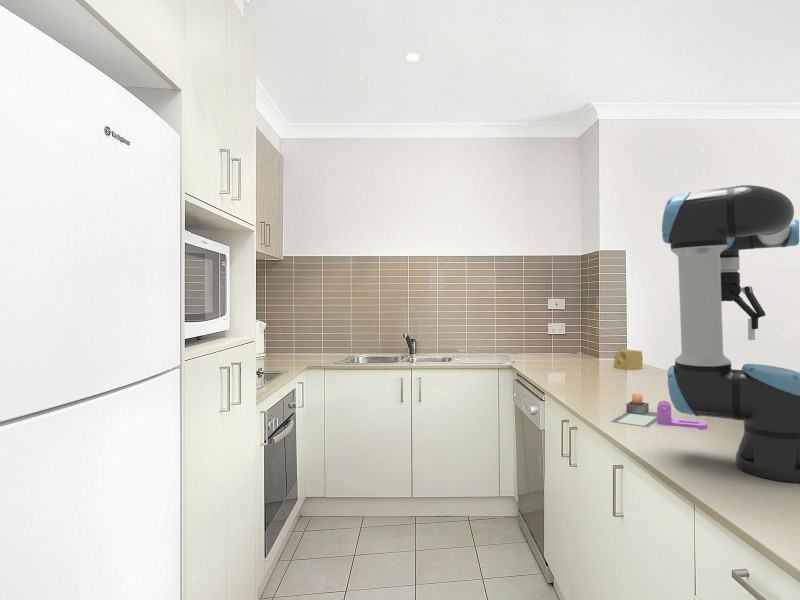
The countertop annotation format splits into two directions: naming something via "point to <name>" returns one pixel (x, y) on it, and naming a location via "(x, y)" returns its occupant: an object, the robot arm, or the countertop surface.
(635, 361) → the cheese
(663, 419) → the bracket
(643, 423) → the grey flat plate
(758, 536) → the countertop surface
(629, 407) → the button housing
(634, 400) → the button
